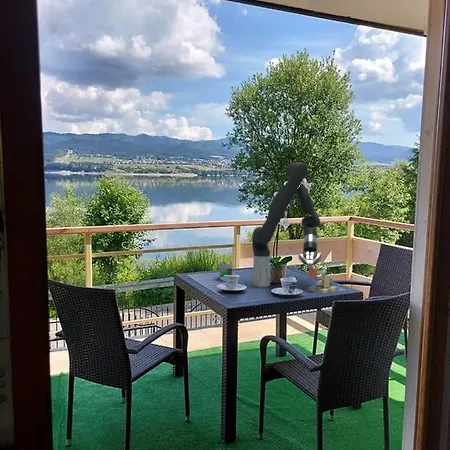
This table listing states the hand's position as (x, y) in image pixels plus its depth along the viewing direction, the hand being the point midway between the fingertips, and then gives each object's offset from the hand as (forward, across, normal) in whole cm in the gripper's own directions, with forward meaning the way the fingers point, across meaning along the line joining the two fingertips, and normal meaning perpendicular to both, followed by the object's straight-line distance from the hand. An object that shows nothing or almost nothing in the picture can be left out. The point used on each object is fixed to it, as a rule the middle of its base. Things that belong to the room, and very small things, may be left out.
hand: (309, 270), depth 257 cm
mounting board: (+5, +8, +11) cm, 15 cm away
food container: (-5, -50, +22) cm, 55 cm away
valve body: (+4, +8, +10) cm, 14 cm away
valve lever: (+2, +5, +4) cm, 6 cm away
